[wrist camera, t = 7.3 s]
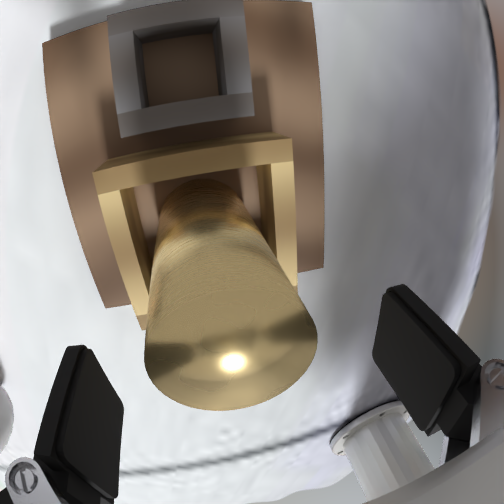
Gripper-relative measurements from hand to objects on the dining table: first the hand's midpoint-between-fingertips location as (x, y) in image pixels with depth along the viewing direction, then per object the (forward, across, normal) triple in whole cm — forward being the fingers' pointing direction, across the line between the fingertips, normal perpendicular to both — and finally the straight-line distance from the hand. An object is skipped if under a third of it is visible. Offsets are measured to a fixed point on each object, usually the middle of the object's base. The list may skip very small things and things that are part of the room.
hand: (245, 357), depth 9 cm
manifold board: (+10, +1, -5) cm, 11 cm away
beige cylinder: (+9, +1, -1) cm, 9 cm away
